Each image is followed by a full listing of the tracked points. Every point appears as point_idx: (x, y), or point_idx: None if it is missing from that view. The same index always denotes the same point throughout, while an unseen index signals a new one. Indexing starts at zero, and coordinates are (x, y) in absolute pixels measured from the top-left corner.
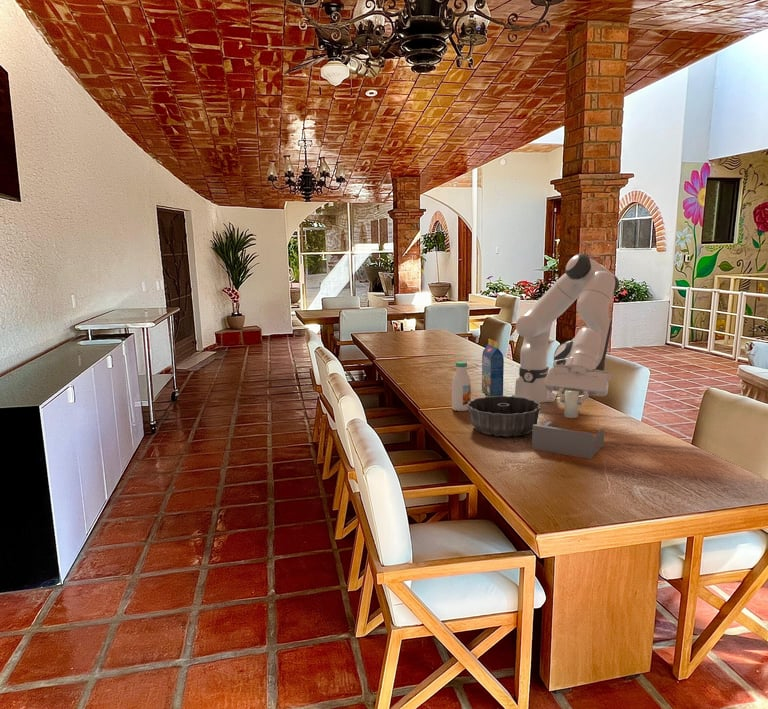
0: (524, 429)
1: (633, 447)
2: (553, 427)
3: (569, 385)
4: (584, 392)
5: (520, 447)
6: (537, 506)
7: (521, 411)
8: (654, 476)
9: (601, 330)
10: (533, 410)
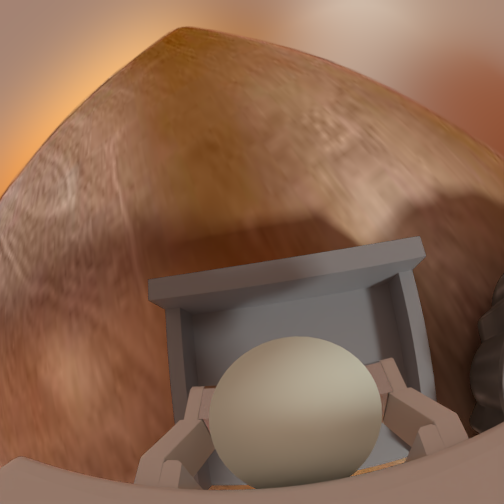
0: (480, 345)
1: None
2: (335, 268)
3: (369, 495)
4: (170, 470)
5: None
6: (205, 50)
7: None
8: (44, 280)
9: None
10: None
